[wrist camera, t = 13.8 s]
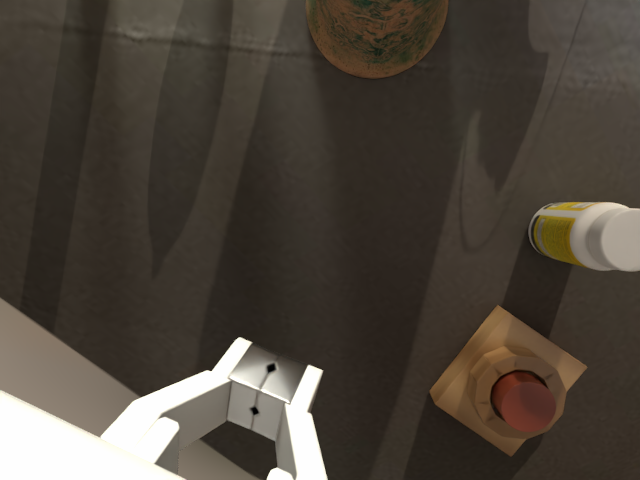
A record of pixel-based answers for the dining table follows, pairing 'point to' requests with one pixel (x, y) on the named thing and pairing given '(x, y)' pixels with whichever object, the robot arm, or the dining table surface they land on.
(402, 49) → the mug
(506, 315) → the button block
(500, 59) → the dining table surface
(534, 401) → the button
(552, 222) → the supplement bottle
